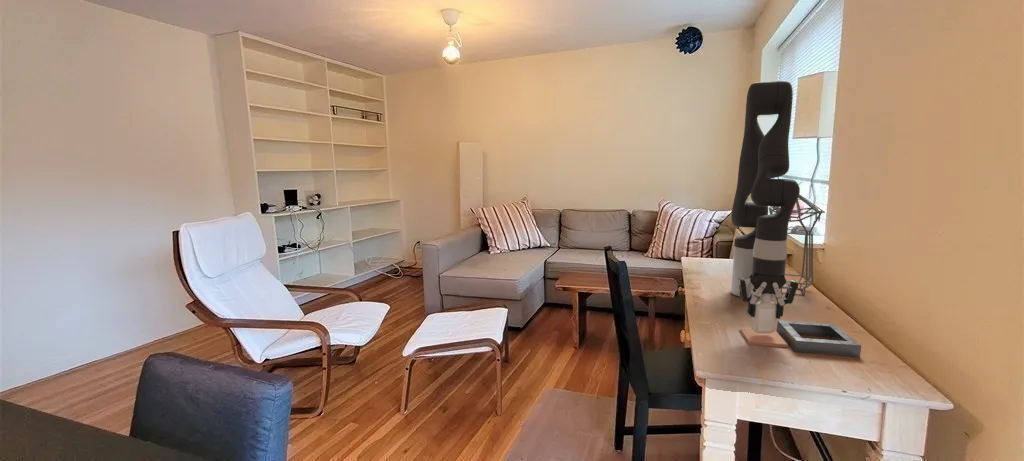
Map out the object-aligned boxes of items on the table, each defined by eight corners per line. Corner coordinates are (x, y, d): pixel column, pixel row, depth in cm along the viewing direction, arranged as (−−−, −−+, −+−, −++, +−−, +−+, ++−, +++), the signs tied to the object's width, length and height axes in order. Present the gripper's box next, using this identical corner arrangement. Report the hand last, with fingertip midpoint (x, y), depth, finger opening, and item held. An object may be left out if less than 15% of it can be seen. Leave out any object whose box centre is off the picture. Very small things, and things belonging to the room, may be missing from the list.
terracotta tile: (740, 331, 124) (740, 328, 124) (775, 333, 122) (775, 330, 121) (748, 344, 115) (749, 341, 115) (787, 347, 113) (787, 344, 113)
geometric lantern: (765, 294, 155) (771, 195, 150) (763, 283, 169) (769, 192, 164) (819, 299, 148) (827, 195, 143) (812, 288, 161) (820, 193, 157)
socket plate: (776, 330, 124) (777, 320, 123) (833, 334, 120) (834, 323, 120) (795, 351, 110) (796, 340, 110) (859, 356, 107) (861, 345, 106)
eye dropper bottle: (776, 335, 115) (780, 291, 113) (752, 332, 117) (755, 289, 115) (774, 329, 119) (777, 287, 117) (750, 326, 121) (753, 285, 119)
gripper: (795, 253, 116) (789, 313, 119) (735, 251, 120) (731, 310, 123) (806, 260, 109) (800, 324, 112) (743, 257, 113) (738, 320, 116)
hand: (764, 316), depth 117 cm, fingers closed on eye dropper bottle, 5 cm apart
